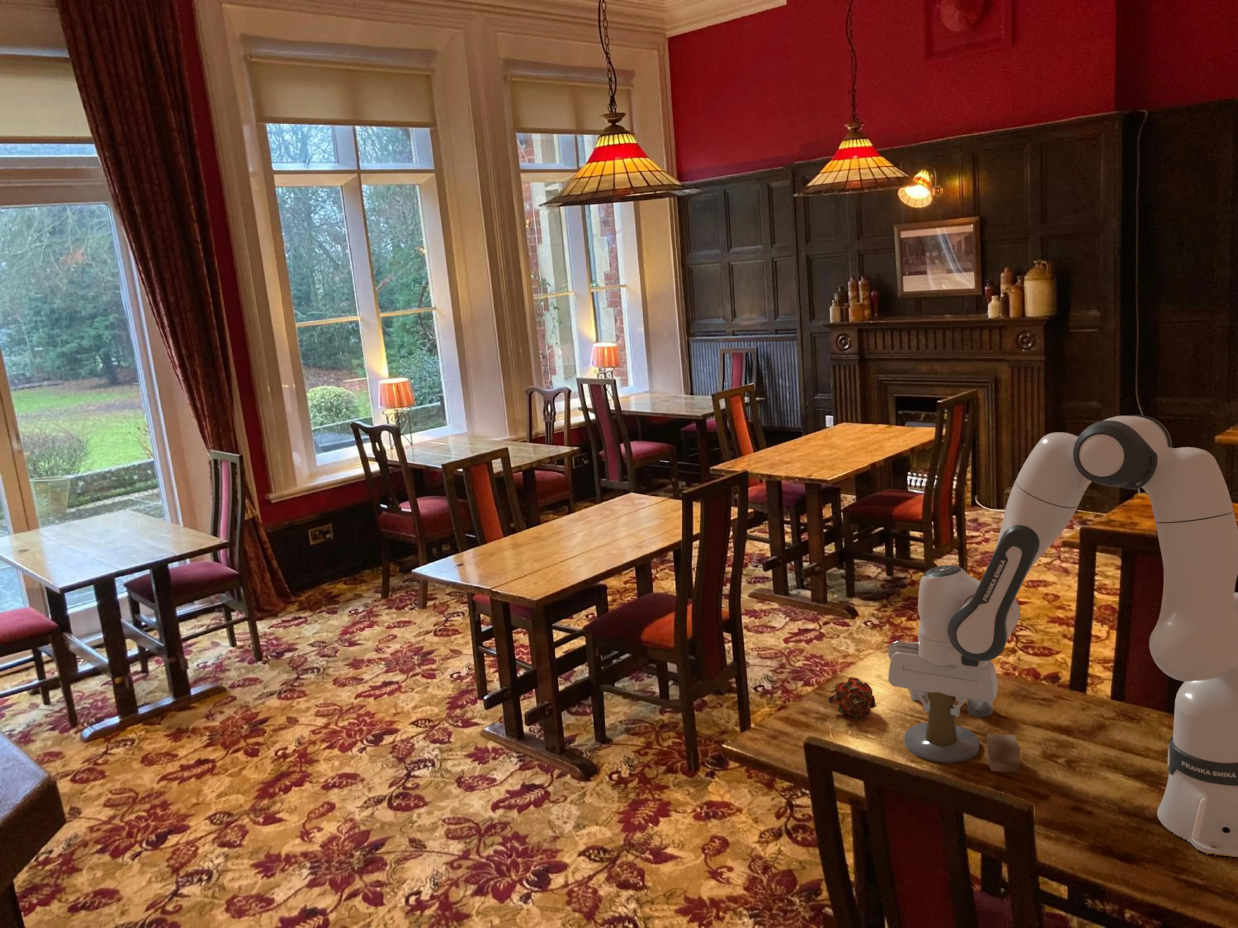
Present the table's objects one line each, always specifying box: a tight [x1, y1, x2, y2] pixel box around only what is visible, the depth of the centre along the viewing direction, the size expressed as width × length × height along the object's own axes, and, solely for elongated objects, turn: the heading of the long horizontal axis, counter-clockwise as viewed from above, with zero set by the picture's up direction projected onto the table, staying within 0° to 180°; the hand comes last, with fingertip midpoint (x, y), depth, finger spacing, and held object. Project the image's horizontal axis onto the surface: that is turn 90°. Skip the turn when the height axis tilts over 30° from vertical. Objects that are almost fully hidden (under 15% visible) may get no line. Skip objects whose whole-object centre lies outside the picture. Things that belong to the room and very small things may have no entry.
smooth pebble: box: [904, 722, 980, 764], centre depth 192 cm, size 14×14×1 cm
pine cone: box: [827, 676, 877, 719], centre depth 206 cm, size 8×8×12 cm
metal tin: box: [966, 699, 993, 718], centre depth 203 cm, size 5×5×7 cm
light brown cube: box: [986, 733, 1021, 773], centre depth 183 cm, size 5×5×5 cm
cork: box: [925, 692, 957, 746], centre depth 191 cm, size 6×6×11 cm
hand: (941, 712), depth 191 cm, fingers closed on cork, 4 cm apart
